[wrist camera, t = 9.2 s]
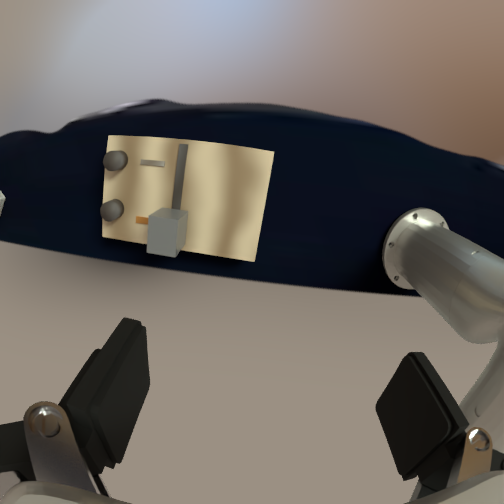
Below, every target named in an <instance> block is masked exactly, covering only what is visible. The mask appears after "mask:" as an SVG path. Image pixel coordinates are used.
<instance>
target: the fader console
mask: <svg viewBox="0 0 504 504" xmlns="http://www.w3.org/2000/svg"><path fill="white" fill-rule="evenodd" d="M273 156H274V152H272V151H266V150H260V149H254V148H248V147H241V146H234V145H227V144H219V143H211V142H203V141H193V140H183V139H171V138H158V137H140V136H109V137H108V145H107V153H106V155H105V156H104V159H103V164H104V167H105V176H104V192H103V205H102V206H101V209H100V213H101V216H102V218H103V237H107V238H113V239H119V240H124V241H130V242H136V243H142V244H147V236H148V218H149V215H150V214H152V213H154V212H155V211H157V210H159V209H160V208H162V207H163V208H170V209H178V210H185V211H188V220H187V230H186V240H185V245H184V246H183V248H182V249H181V250H184V251H190V252H196V253H202V254H208V255H214V256H221V257H227V258H233V259H239V260H245V261H252V262H255V256H256V251H257V245H258V240H259V234H260V229H261V223H262V218H263V212H264V207H265V201H266V195H267V190H268V184H269V179H270V173H271V167H272V162H273Z"/></svg>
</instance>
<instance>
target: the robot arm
mask: <svg viewBox="0 0 504 504" xmlns="http://www.w3.org/2000/svg"><path fill="white" fill-rule="evenodd" d="M389 243H390V244H389ZM382 261H383V267H384V269H385V272H386V274H387V275H388V277H389V278H390V280H391V281H392V282H393V283H395V284H396V285H397V286H399V287H401V288H404V289H415V290H416V291H417V292H418V293H419V294H420V295H421V296H422V297H423V298H424V299H425V300H426V301H427V302H428V303H429V304H430V305H431V306H432V307H433V308H434V309H435V310H436V311H437V312H438V313H439V314H440V315H441V316H442V317H443V318H444V319H445V321H447V322H448V324H449V325H450V326H451V327H452V328H453V329H454V330H455V331H456V332H457V333H458V334H459V335H460V336H461V337H462V338H463V339H465V340H466V341H468V342H471V343H476V344H485V343H492V342H497V341H498V345H497V348H496V350H495V352H494V354H493V356H492V357H491V359H490V361H489V363H488V365H487V366H486V368H485V369H484V371H483V372H482V374H481V375H480V377H479V378H478V380H477V381H476V382H475V384H474V385H473V387H472V388H471V389H470V391H469V392H468V393H467V395H466V396H465V398H464V399H463V400H462V402H461V403H460V405H459V406H458V404H457V402H456V401H455V399H454V398H453V396H452V394H451V393H450V391H449V390H448V388H447V387H446V385H445V384H444V382H443V381H442V379H441V378H440V376H439V375H438V373H437V372H436V370H435V369H434V367H433V366H432V364H431V363H430V361H429V360H428V359H427V357H426V356H425V354H424V353H422V352H410V353H408V354H407V355H406V356H405V357H404V358H403V359H402V361H401V363H400V365H399V367H398V368H397V370H396V372H395V374H394V375H393V377H392V379H391V380H390V382H389V384H388V385H387V387H386V388H385V390H384V392H383V393H382V395H381V397H380V398H379V399H378V401H377V404H376V412H377V415H378V417H379V420H380V423H381V425H382V428H383V431H384V433H385V436H386V438H387V441H388V444H389V447H390V450H391V453H392V455H393V458H394V461H395V464H396V467H397V470H398V472H399V474H400V475H402V478H403V481H406V480H409V479H413V478H415V477H416V476H417V475H418V477H419V480H418V482H417V485H416V487H415V490H414V492H413V494H412V497H411V499H410V501H409V502H408V503H405V504H504V259H502V258H500V257H498V256H497V255H494V254H493V253H491V252H489V251H488V250H486V249H484V248H482V247H480V246H479V245H477V244H475V243H473V242H471V241H469V240H467V239H466V238H464V237H462V236H460V235H458V234H456V233H454V232H452V231H450V230H449V228H448V226H447V223H446V221H445V220H444V219H443V217H442V216H441V215H439V214H438V213H437V212H435V211H433V210H430V209H427V208H416V209H412V210H410V211H407V212H406V213H404V214H403V215H401V216H400V217H399V218H398V219H397V220H396V221H395V222H394V223H393V225H392V226H391V228H390V229H389V231H388V233H387V235H386V238H385V241H384V244H383V250H382ZM149 386H150V376H149V366H148V353H147V336H146V327H145V326H142V325H141V322H140V321H138V320H134V319H129V318H123V319H122V320H121V322H120V323H119V325H118V326H117V327H116V329H115V330H114V332H113V333H112V334H111V336H110V337H109V339H108V340H107V342H106V343H105V345H104V346H103V348H102V349H96V350H95V351H94V352H93V353H92V354H91V356H90V357H89V359H88V360H87V361H86V363H85V364H84V366H83V368H82V369H81V370H80V372H79V373H78V375H77V376H76V378H75V379H74V381H73V382H72V384H71V385H70V387H69V388H68V390H67V392H66V393H65V395H64V396H63V398H62V399H61V401H60V403H59V404H58V405H57V404H55V403H52V402H48V401H45V402H44V401H41V402H38V403H35V404H33V405H32V406H30V407H29V408H28V409H27V411H26V412H25V415H24V417H23V421H18V422H13V423H8V424H2V425H0V500H1V501H0V504H131V503H127V502H123V501H120V500H116V499H113V498H112V497H111V496H110V494H109V492H108V490H107V488H106V486H105V484H104V482H103V480H102V478H101V476H100V474H101V473H102V472H103V469H104V467H105V466H106V467H109V468H112V469H114V467H115V464H116V463H119V464H120V463H121V462H122V459H123V457H124V454H125V451H126V448H127V445H128V442H129V440H130V437H131V435H132V432H133V429H134V426H135V424H136V421H137V418H138V416H139V413H140V410H141V408H142V405H143V403H144V400H145V398H146V395H147V393H148V390H149ZM3 495H4V496H3Z"/></svg>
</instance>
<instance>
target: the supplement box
mask: <svg viewBox="0 0 504 504" xmlns="http://www.w3.org/2000/svg"><path fill="white" fill-rule="evenodd" d="M4 201H5V196H4V195H3V194H2V192H1V191H0V215H1V211H2V208H3V205H4Z"/></svg>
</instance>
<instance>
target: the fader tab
mask: <svg viewBox="0 0 504 504" xmlns="http://www.w3.org/2000/svg"><path fill="white" fill-rule="evenodd" d="M187 220H188V211H185V210H178V209H170V208H163V207H162V208H160V209H159V210H157V211H155V212H154V213H152V214H150V215H149V218H148V236H147V253H152V254H158V255H164V256H170V257H176V256H177V255H178V253H179V252H180V250H181V249H182V248H183V246H184V245H185V240H186V230H187Z"/></svg>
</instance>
